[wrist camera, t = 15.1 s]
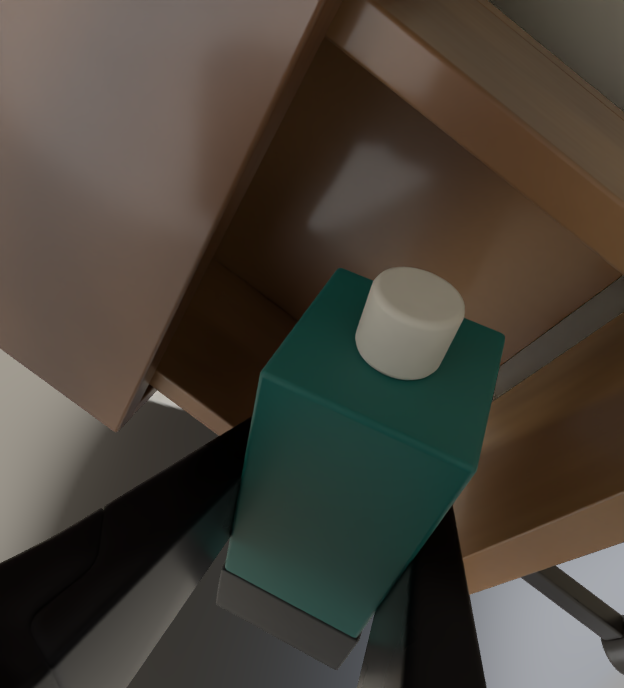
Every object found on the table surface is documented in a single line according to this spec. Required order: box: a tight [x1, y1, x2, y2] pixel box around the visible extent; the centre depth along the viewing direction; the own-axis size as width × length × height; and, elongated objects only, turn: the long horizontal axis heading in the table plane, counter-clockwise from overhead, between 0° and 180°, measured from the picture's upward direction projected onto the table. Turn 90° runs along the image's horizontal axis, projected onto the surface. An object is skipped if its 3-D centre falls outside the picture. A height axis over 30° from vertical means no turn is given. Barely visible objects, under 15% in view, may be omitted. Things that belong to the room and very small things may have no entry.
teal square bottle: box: [216, 267, 505, 670], centre depth 9 cm, size 8×3×3 cm, turn 167°
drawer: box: [149, 0, 624, 675], centre depth 13 cm, size 18×12×6 cm
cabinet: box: [0, 0, 343, 432], centre depth 13 cm, size 15×14×8 cm
